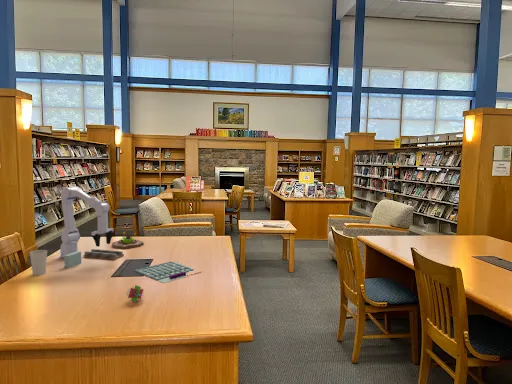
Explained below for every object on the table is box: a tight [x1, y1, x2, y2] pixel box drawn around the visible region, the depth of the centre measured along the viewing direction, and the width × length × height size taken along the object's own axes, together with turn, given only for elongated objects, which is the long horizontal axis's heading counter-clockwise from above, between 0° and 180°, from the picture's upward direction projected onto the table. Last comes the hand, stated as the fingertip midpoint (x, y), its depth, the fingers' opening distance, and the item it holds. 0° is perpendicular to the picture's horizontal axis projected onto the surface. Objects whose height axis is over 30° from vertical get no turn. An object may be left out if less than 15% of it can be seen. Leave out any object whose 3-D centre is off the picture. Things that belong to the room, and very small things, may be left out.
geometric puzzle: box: [126, 284, 144, 303], centre depth 160 cm, size 7×7×8 cm
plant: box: [111, 230, 145, 250], centre depth 259 cm, size 20×20×11 cm
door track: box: [82, 248, 125, 261], centre depth 230 cm, size 22×10×3 cm, turn 76°
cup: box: [29, 249, 48, 276], centre depth 195 cm, size 8×8×12 cm
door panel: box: [63, 250, 82, 269], centre depth 211 cm, size 10×3×7 cm, turn 166°
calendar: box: [134, 261, 195, 284], centre depth 202 cm, size 27×28×2 cm
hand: (103, 245), depth 219 cm, fingers open, 7 cm apart
